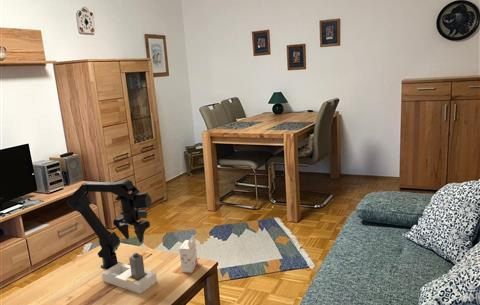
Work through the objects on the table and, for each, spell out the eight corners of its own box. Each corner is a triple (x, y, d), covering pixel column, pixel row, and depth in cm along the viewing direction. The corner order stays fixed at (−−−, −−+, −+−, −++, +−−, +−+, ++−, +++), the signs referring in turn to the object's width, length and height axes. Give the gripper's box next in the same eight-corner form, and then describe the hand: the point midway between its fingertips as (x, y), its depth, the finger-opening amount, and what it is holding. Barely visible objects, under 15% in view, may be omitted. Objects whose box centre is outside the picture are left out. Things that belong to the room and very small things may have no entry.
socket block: (103, 281, 170) (101, 272, 169) (120, 270, 178) (119, 261, 177) (140, 293, 159) (138, 284, 158) (157, 281, 167) (155, 272, 166)
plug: (133, 284, 166) (128, 254, 162) (141, 280, 168) (137, 251, 165) (137, 288, 163) (133, 257, 160) (146, 283, 166) (142, 253, 162)
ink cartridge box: (187, 262, 181) (184, 233, 178) (197, 263, 180) (195, 233, 177) (181, 272, 173) (178, 242, 169) (192, 273, 172) (188, 242, 168)
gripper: (156, 204, 175) (161, 236, 178) (129, 200, 185) (134, 230, 189) (137, 213, 166) (143, 247, 169) (109, 208, 177) (115, 240, 180)
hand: (134, 240), depth 177 cm, fingers open, 9 cm apart
